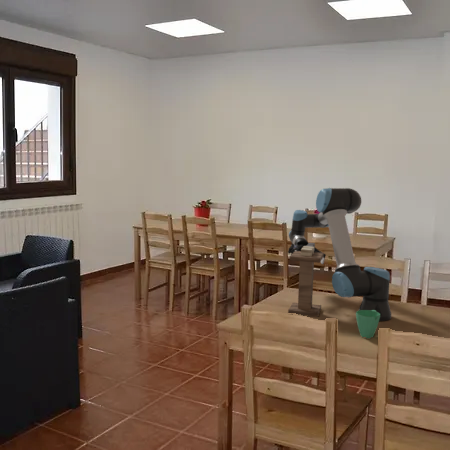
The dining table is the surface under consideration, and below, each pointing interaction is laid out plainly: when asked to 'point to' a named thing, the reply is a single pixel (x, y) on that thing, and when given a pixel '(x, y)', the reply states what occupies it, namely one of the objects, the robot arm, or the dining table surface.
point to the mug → (367, 322)
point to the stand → (306, 284)
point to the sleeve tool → (308, 249)
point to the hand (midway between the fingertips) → (310, 259)
